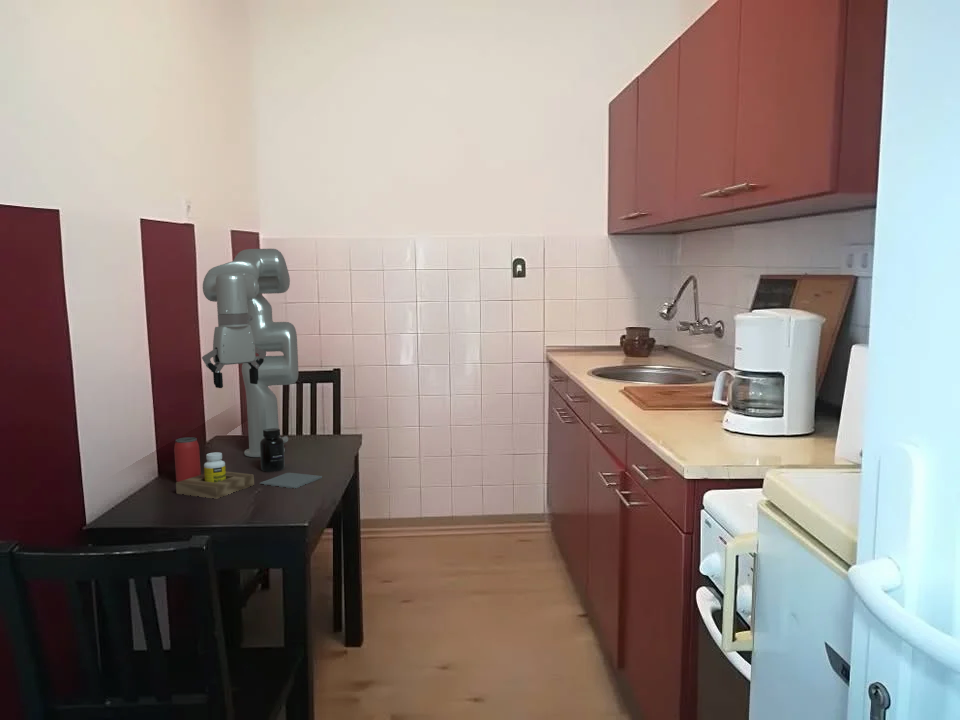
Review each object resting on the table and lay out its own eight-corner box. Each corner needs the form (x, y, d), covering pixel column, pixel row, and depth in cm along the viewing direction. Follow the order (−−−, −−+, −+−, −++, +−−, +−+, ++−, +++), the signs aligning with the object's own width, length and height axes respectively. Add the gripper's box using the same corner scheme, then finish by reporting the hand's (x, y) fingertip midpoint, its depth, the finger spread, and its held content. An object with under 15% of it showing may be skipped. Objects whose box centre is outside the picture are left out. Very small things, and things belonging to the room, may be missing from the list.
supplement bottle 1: (214, 493, 201) (212, 457, 200) (201, 490, 204) (198, 454, 203) (230, 488, 205) (228, 452, 204) (217, 485, 208) (215, 450, 207)
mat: (288, 474, 219) (288, 472, 219) (322, 477, 214) (322, 476, 214) (259, 484, 208) (259, 482, 208) (294, 488, 203) (294, 487, 203)
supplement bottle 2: (278, 472, 221) (276, 432, 220) (257, 472, 223) (254, 431, 221) (289, 466, 228) (287, 427, 227) (268, 466, 229) (265, 427, 228)
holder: (215, 480, 214) (214, 470, 214) (254, 485, 208) (253, 474, 208) (176, 493, 201) (175, 482, 201) (216, 499, 195) (215, 487, 195)
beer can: (206, 478, 216) (203, 437, 215) (190, 484, 210) (187, 442, 209) (187, 477, 218) (184, 436, 217) (171, 483, 212) (168, 441, 211)
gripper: (257, 319, 208) (260, 381, 209) (194, 322, 196) (198, 388, 198) (270, 319, 202) (273, 383, 204) (207, 322, 190) (211, 390, 192)
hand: (236, 385), depth 201 cm, fingers open, 9 cm apart
